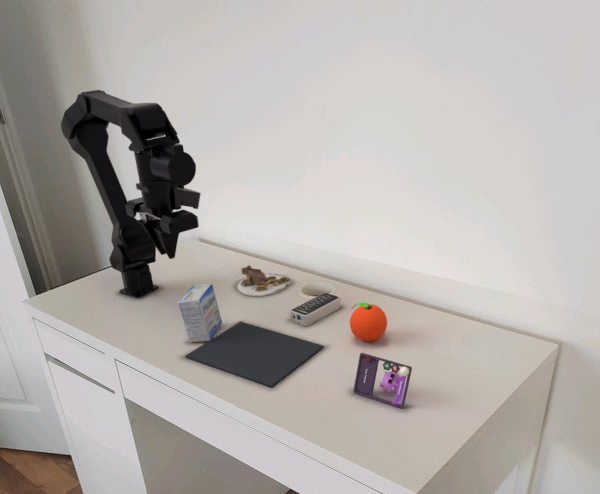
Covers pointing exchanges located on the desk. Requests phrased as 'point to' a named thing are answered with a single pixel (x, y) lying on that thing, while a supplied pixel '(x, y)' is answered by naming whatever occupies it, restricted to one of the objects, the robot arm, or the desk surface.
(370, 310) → the clementine
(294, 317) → the multiport hub
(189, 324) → the medicine box
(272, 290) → the frog figurine
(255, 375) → the mouse mat
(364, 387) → the game card
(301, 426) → the desk surface
